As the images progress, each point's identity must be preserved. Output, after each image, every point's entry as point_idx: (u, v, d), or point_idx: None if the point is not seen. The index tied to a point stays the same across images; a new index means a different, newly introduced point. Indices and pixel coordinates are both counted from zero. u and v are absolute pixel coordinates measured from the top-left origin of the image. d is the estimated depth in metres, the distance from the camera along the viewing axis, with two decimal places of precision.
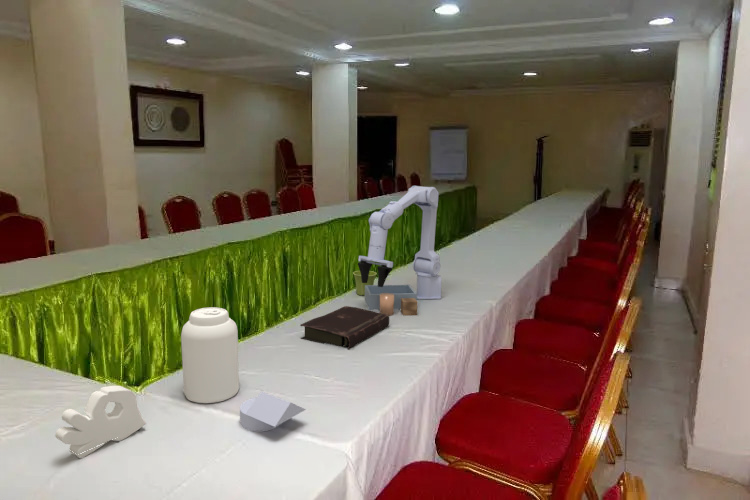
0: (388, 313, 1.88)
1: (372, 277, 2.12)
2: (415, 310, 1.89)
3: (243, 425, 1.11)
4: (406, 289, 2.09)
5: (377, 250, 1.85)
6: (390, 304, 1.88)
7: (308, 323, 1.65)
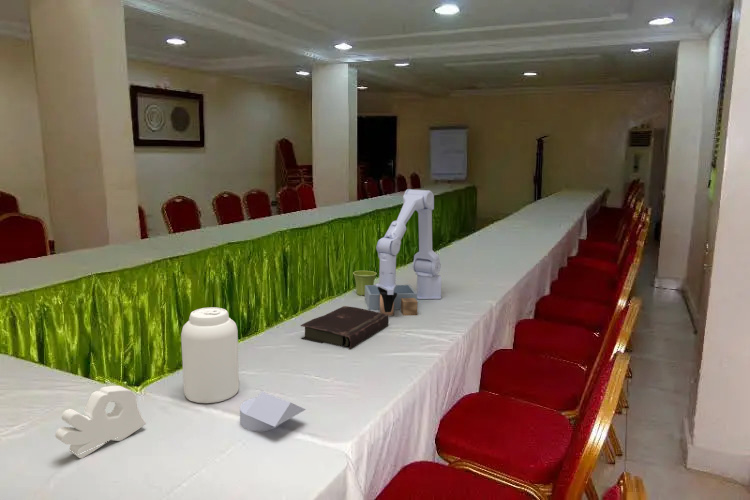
0: (388, 313, 1.88)
1: (372, 277, 2.12)
2: (415, 310, 1.89)
3: (243, 425, 1.11)
4: (406, 289, 2.09)
5: (382, 276, 1.86)
6: None
7: (308, 323, 1.65)
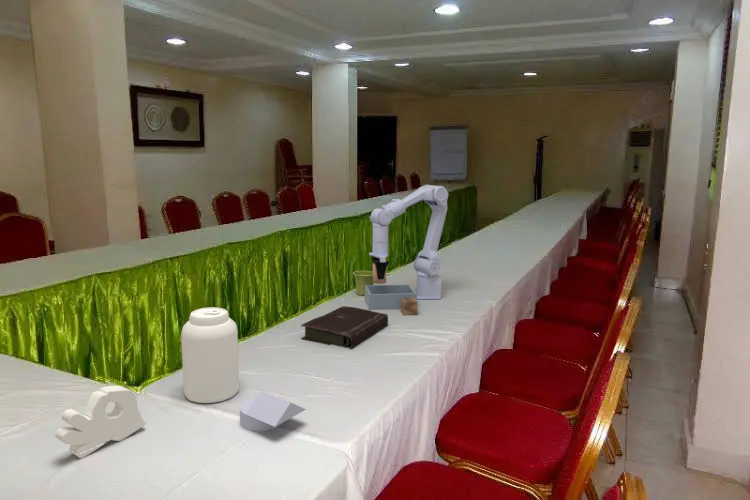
0: (380, 281, 1.98)
1: (372, 277, 2.12)
2: (415, 310, 1.89)
3: (243, 425, 1.11)
4: (406, 289, 2.09)
5: (375, 245, 1.96)
6: None
7: (308, 323, 1.65)
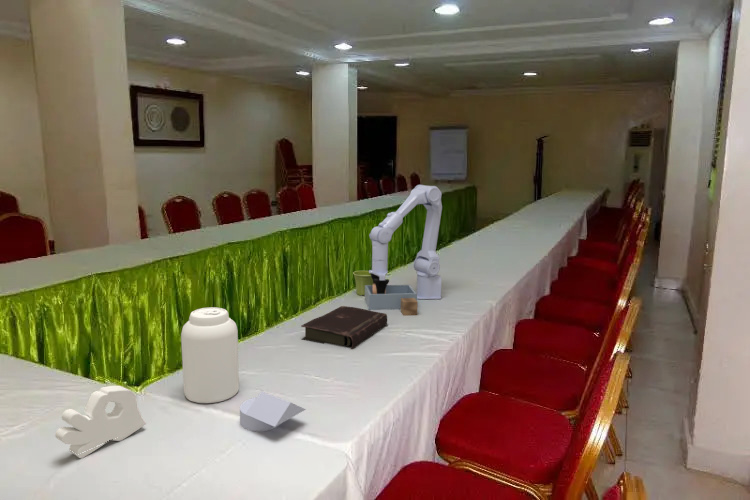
0: None
1: None
2: (415, 310, 1.89)
3: (243, 425, 1.11)
4: (406, 289, 2.09)
5: (375, 263, 1.97)
6: None
7: (308, 324, 1.65)
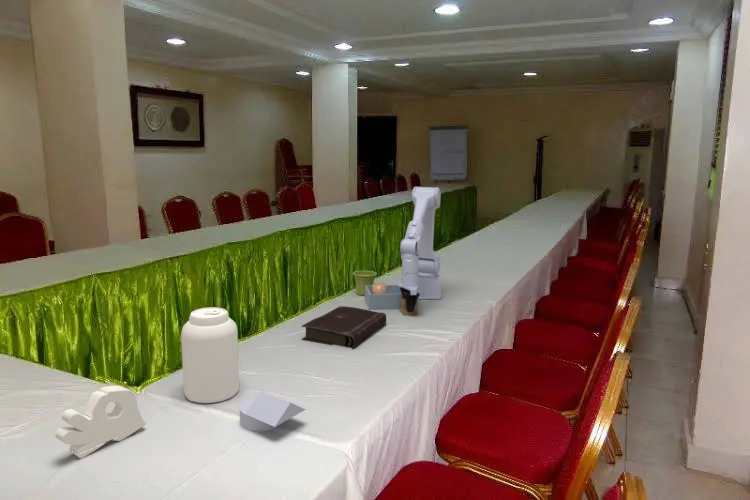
0: None
1: (372, 277, 2.12)
2: (415, 310, 1.89)
3: (243, 425, 1.11)
4: None
5: (405, 277, 1.87)
6: (382, 293, 1.99)
7: (309, 324, 1.64)
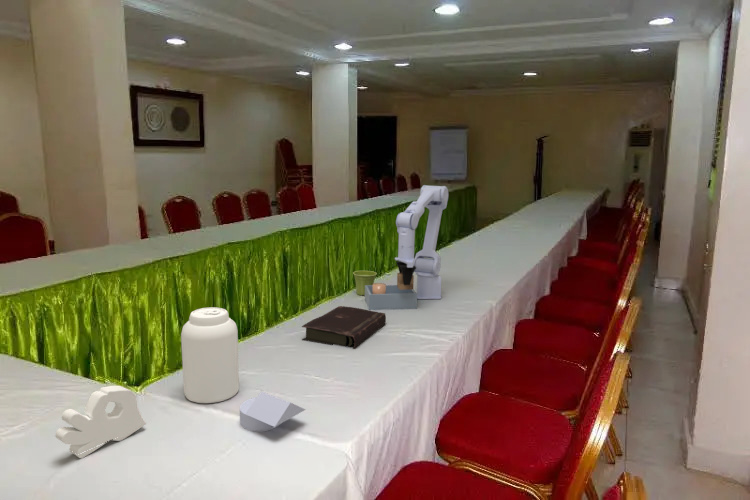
0: None
1: (372, 277, 2.12)
2: (411, 284, 1.93)
3: (243, 425, 1.11)
4: None
5: (402, 250, 1.91)
6: (382, 293, 1.99)
7: (309, 324, 1.64)
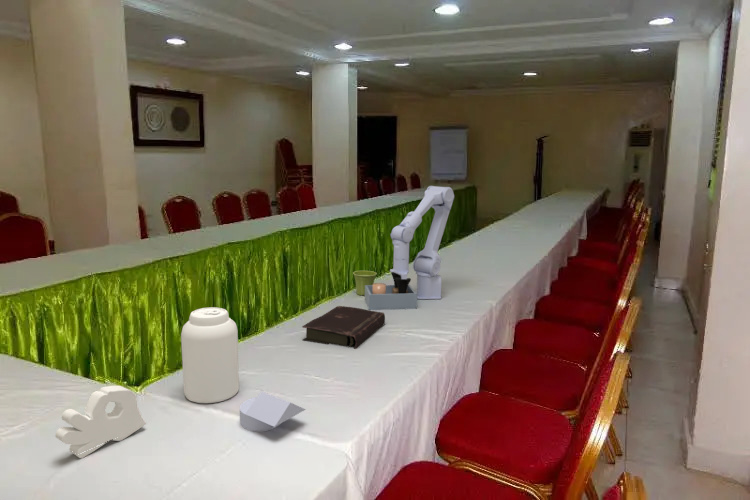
0: None
1: (372, 277, 2.12)
2: None
3: (243, 425, 1.11)
4: None
5: (396, 262, 1.98)
6: (382, 293, 1.99)
7: (309, 324, 1.64)
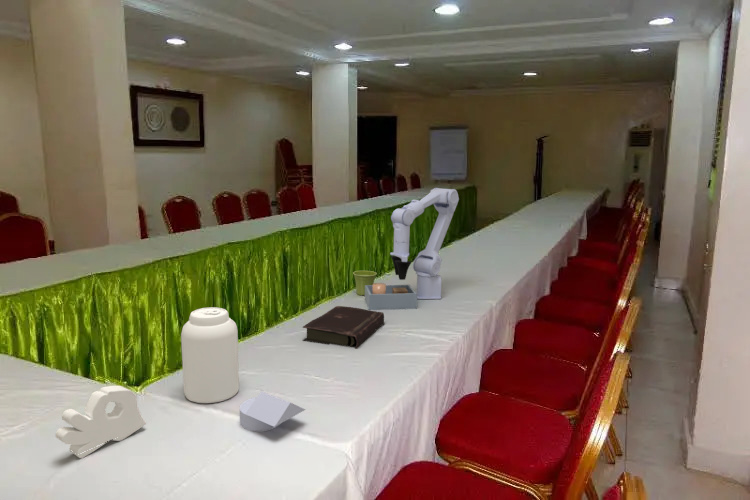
0: None
1: (372, 277, 2.12)
2: None
3: (243, 425, 1.11)
4: None
5: (397, 245, 1.97)
6: (382, 293, 1.99)
7: (309, 325, 1.64)
